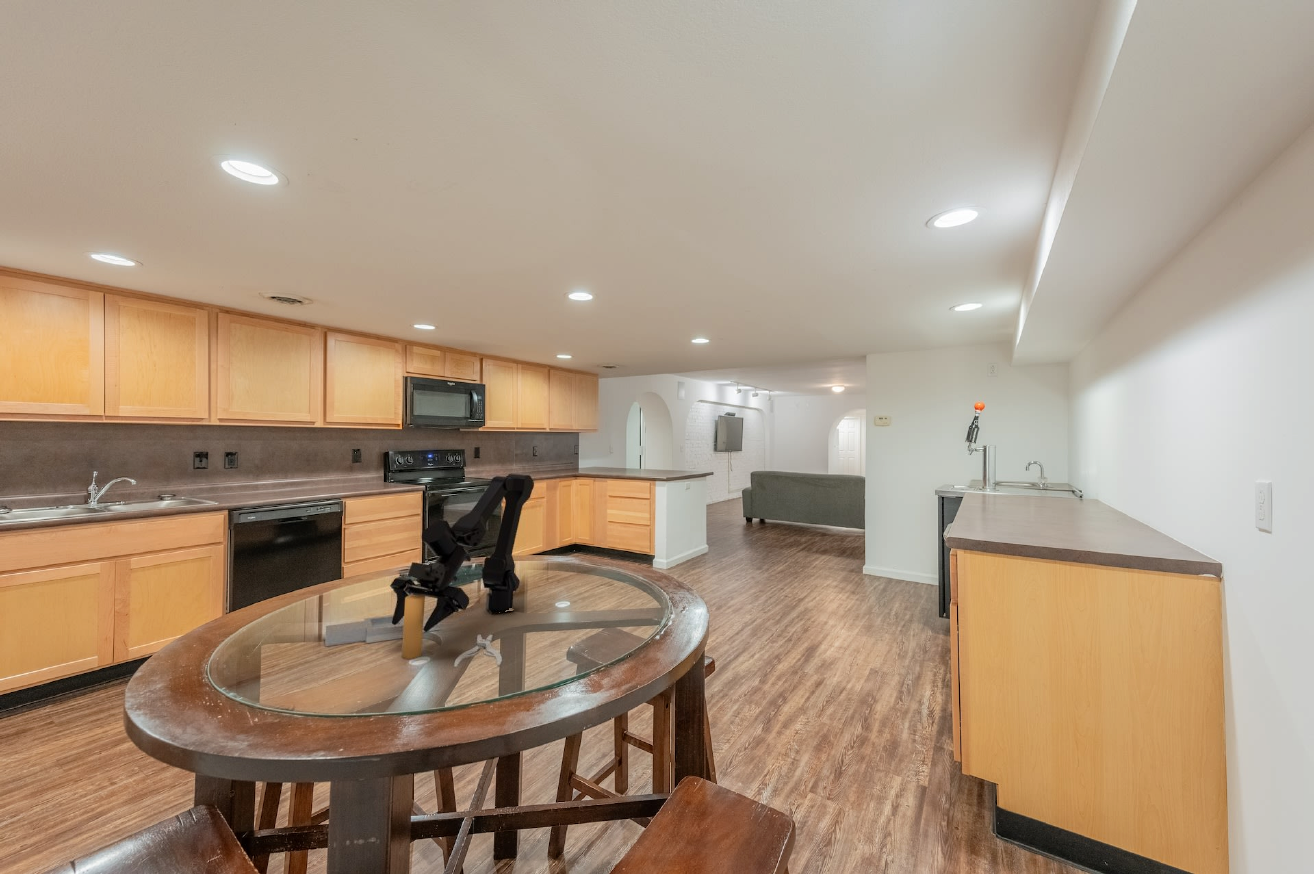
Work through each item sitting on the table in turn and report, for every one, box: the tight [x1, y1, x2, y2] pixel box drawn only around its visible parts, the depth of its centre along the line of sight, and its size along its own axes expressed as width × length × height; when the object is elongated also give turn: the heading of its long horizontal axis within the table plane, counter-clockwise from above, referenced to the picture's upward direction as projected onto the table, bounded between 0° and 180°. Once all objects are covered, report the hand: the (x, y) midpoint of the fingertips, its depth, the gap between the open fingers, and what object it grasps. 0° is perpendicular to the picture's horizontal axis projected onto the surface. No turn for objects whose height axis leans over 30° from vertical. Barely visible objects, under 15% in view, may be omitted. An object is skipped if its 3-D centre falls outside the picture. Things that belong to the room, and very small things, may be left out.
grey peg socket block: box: [324, 614, 441, 647], centre depth 126 cm, size 24×8×3 cm, turn 123°
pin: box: [401, 595, 426, 660], centre depth 115 cm, size 4×4×13 cm
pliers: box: [453, 634, 503, 669], centre depth 119 cm, size 10×2×15 cm
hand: (408, 627), depth 114 cm, fingers open, 8 cm apart
